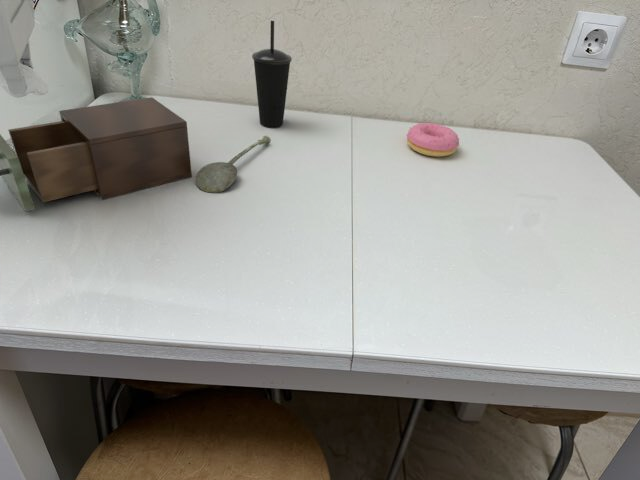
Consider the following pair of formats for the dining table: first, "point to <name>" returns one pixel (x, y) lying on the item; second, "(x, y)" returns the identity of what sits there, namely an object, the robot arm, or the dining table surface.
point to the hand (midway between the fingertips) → (23, 81)
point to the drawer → (46, 163)
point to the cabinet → (132, 144)
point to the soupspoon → (222, 171)
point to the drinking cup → (271, 83)
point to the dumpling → (27, 82)
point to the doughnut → (432, 139)
